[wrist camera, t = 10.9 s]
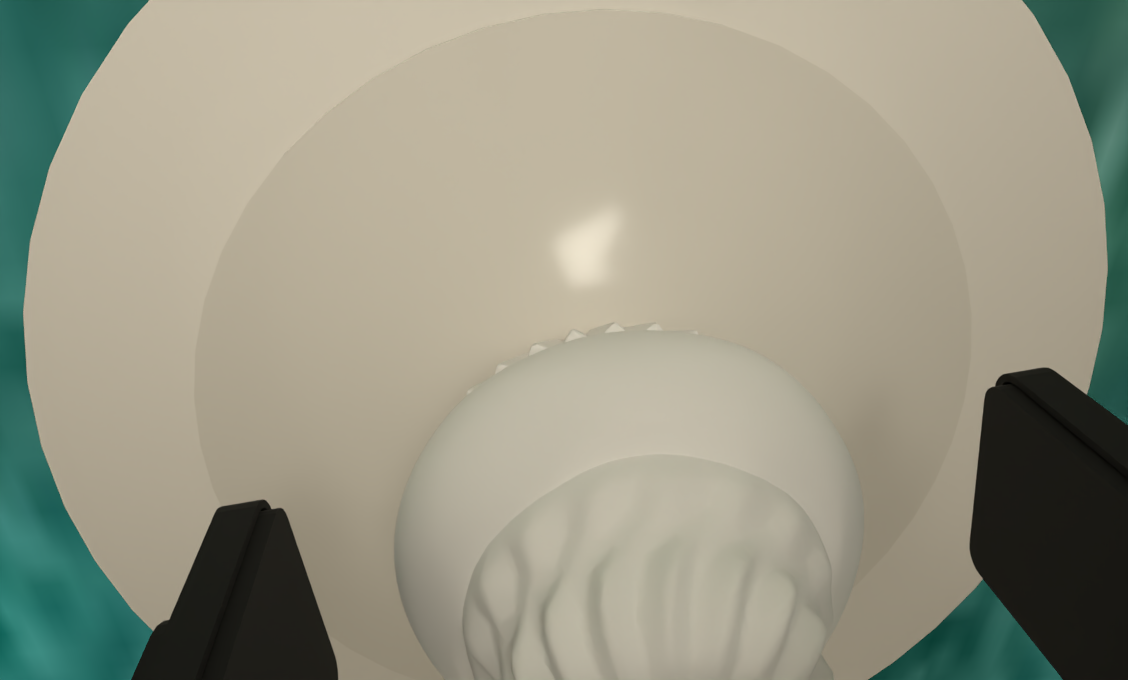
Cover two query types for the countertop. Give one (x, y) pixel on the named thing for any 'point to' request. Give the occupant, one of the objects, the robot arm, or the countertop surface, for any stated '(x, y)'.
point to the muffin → (631, 517)
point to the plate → (544, 259)
